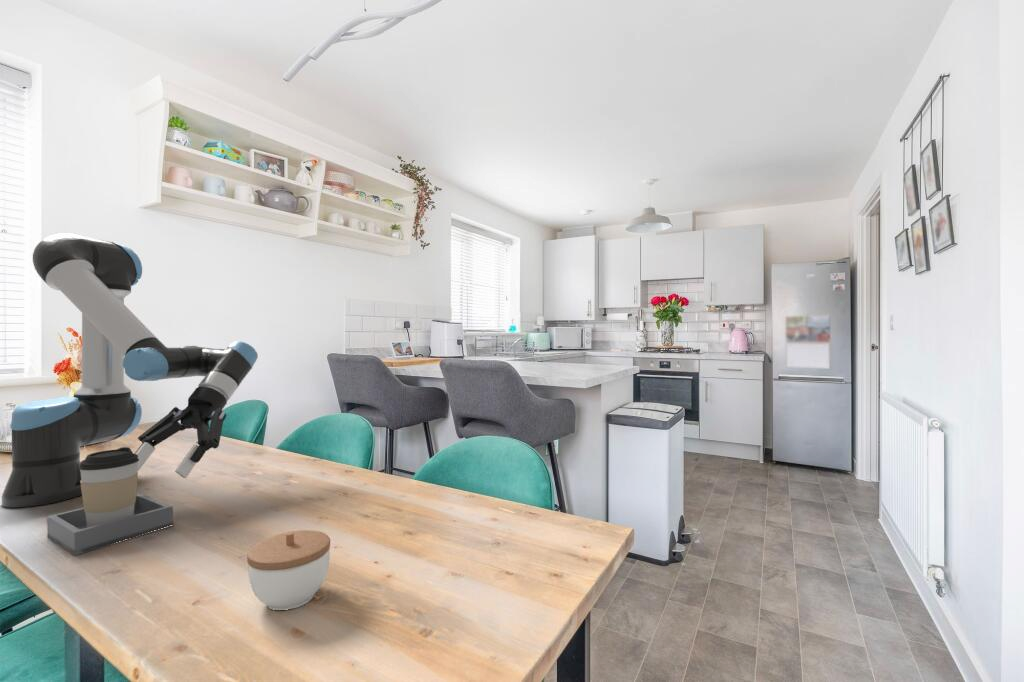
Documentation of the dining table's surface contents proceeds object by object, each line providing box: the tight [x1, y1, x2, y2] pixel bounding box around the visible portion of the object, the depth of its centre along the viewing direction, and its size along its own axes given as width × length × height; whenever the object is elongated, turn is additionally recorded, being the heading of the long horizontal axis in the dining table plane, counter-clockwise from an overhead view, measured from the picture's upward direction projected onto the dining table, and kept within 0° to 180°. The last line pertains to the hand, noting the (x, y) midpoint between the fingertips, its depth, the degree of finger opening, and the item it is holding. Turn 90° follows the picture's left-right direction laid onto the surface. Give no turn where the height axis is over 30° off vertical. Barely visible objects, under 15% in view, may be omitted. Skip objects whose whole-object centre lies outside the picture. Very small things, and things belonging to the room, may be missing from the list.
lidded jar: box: [246, 529, 331, 611], centre depth 67 cm, size 11×11×9 cm
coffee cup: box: [78, 446, 139, 527], centre depth 92 cm, size 9×9×15 cm
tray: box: [46, 493, 174, 556], centre depth 92 cm, size 15×15×4 cm
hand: (154, 473), depth 101 cm, fingers open, 13 cm apart
